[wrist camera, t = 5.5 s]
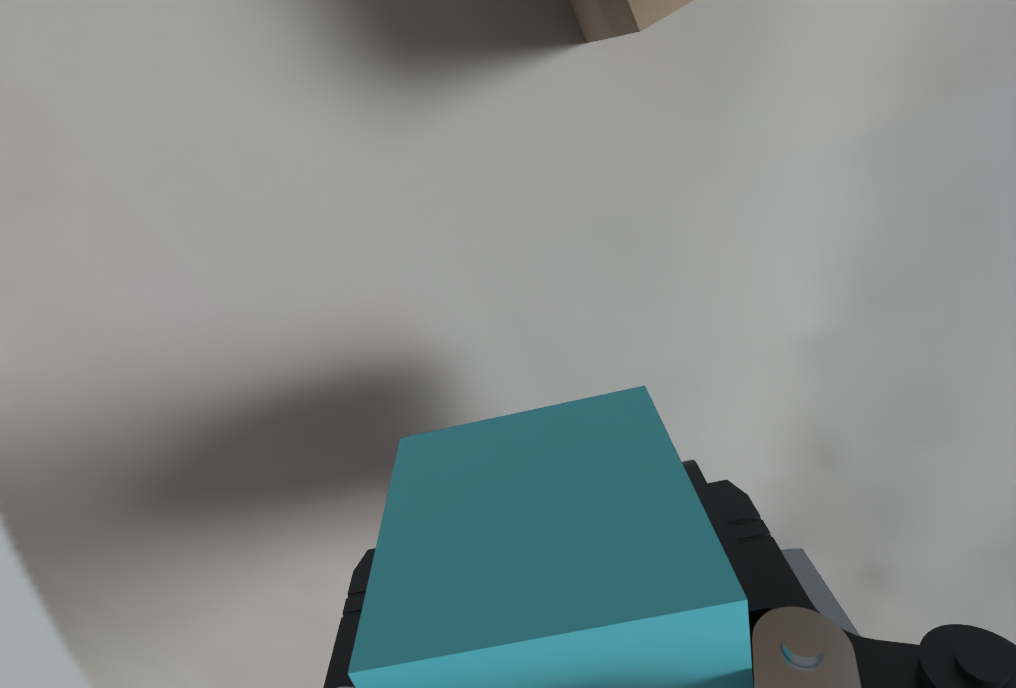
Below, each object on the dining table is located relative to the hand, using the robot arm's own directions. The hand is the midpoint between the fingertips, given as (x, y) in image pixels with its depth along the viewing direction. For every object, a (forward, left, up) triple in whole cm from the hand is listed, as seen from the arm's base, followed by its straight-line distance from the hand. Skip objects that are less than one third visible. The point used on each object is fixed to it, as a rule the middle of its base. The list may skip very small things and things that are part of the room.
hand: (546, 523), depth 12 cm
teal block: (0, 0, 0) cm, 0 cm away
